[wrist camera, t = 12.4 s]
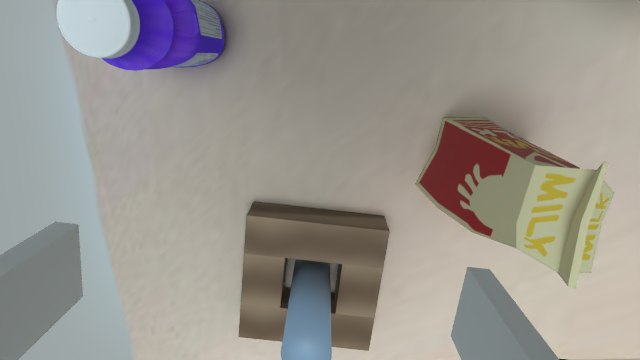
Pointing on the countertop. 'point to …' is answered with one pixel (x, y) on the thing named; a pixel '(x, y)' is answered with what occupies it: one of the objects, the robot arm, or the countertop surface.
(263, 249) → the socket block
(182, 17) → the bottle
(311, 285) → the peg
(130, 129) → the countertop surface
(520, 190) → the milk carton
